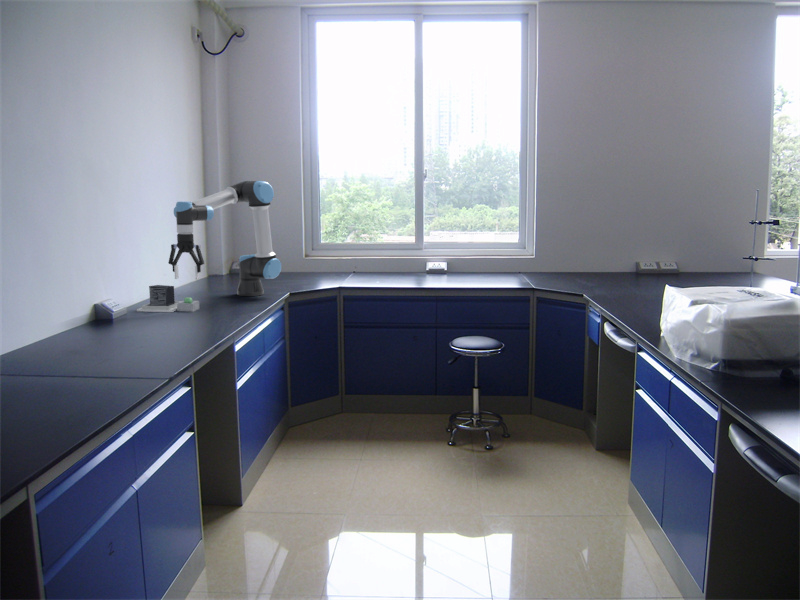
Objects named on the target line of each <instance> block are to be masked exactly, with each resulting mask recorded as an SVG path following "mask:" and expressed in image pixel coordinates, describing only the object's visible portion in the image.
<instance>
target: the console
mask: <svg viewBox="0 0 800 600" xmlns="http://www.w3.org/2000/svg"><path fill="white" fill-rule="evenodd" d="M180 301H181V302H179V303H177V312H191V313H193V312H196V311H197V310H200V301H199V300H192V303H184V299H183V300H180Z"/></svg>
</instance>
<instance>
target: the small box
mask: <svg viewBox="0 0 800 600" xmlns="http://www.w3.org/2000/svg"><path fill="white" fill-rule="evenodd" d="M148 289H149V303H150V306H170V305H173V304H175V301H176V300H175V286H174V285H162V284H156V285H149V286H148Z"/></svg>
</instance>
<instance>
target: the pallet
mask: <svg viewBox="0 0 800 600" xmlns="http://www.w3.org/2000/svg"><path fill="white" fill-rule="evenodd" d="M181 301H182V300H175V304H173V305H170V306H150V302H148V303H145V304H144V305H141V307H139V308H137V309H136V312H150V313H151V312H152V313H153V312H155V313H157V312H158V313H173V312H174V311H175V312H176V311H177V303H179V302H181ZM175 312H174V313H175ZM177 312H178V311H177Z"/></svg>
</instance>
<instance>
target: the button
mask: <svg viewBox="0 0 800 600" xmlns="http://www.w3.org/2000/svg"><path fill="white" fill-rule="evenodd" d="M183 300H184V303H192V301H193V298H192V297H184V298H183Z"/></svg>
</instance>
